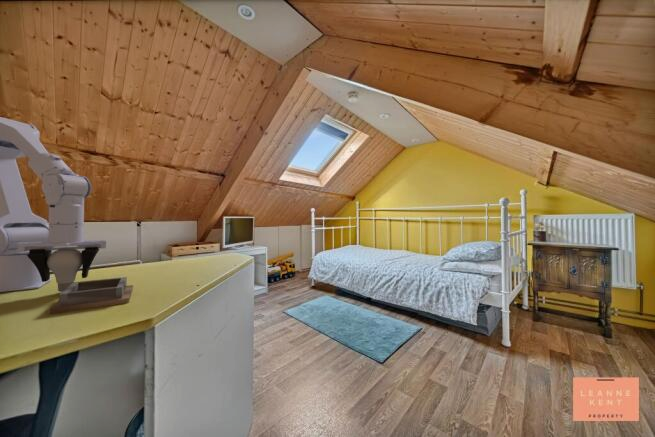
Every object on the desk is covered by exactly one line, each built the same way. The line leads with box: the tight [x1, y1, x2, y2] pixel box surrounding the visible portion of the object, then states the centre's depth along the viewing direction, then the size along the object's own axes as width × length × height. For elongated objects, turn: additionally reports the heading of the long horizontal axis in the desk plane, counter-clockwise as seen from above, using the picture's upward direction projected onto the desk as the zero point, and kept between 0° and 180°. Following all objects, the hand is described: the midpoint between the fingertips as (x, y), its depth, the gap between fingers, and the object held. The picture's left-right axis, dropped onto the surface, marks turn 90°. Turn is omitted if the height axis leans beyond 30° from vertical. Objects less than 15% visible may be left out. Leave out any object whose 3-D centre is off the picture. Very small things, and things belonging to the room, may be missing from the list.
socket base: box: [48, 276, 134, 315], centre depth 54 cm, size 11×12×4 cm
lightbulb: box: [47, 248, 83, 293], centre depth 57 cm, size 6×6×11 cm
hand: (65, 278), depth 57 cm, fingers closed on lightbulb, 6 cm apart
